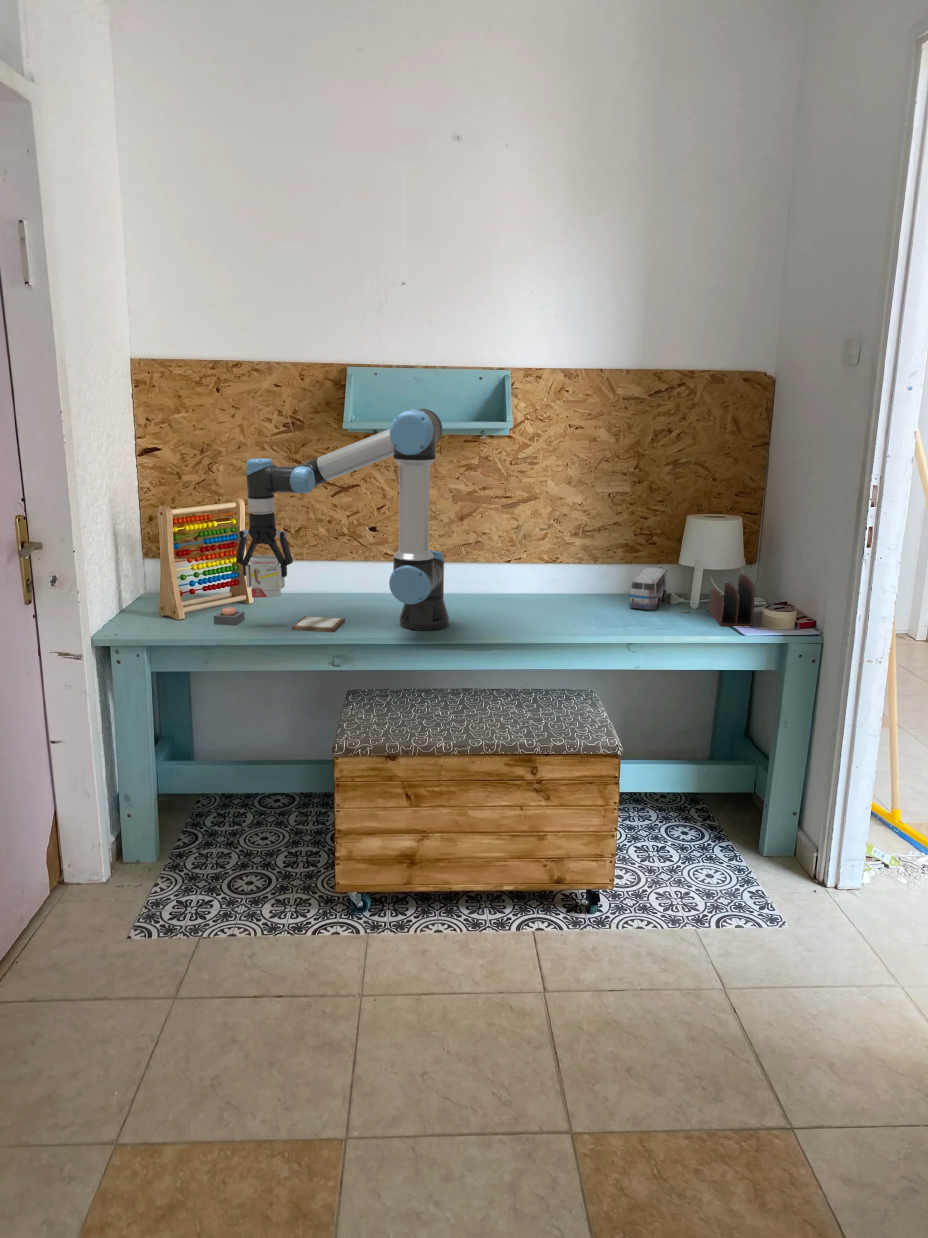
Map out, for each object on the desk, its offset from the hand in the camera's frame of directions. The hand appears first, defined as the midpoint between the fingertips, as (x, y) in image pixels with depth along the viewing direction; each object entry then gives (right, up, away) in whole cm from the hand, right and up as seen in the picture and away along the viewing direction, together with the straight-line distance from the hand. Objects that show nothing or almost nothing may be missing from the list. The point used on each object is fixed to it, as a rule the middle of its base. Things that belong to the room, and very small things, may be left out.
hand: (265, 586), depth 272 cm
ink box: (0, -3, +1) cm, 3 cm away
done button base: (-13, -10, +7) cm, 18 cm away
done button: (-13, -9, +6) cm, 17 cm away
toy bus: (+122, -4, +40) cm, 129 cm away
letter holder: (+145, -10, +20) cm, 146 cm away
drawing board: (+15, -12, +4) cm, 20 cm away
